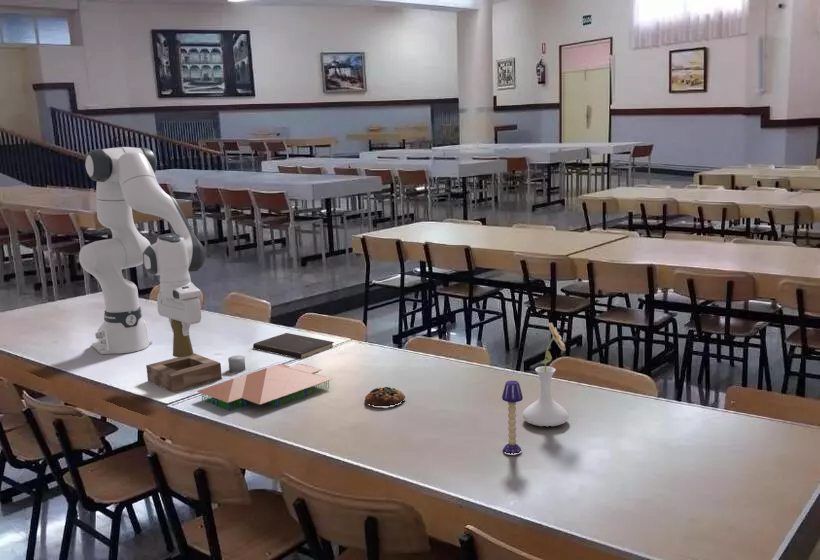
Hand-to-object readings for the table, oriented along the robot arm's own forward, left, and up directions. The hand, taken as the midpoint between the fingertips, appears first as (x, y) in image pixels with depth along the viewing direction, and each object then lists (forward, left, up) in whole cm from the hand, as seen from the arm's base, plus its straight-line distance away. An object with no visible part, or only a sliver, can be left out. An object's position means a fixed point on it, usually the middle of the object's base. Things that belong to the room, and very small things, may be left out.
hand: (180, 333), depth 235 cm
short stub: (+4, +16, -15) cm, 22 cm away
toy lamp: (+107, +24, -15) cm, 110 cm away
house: (+30, +10, -15) cm, 35 cm away
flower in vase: (+102, +44, -15) cm, 112 cm away
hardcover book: (-2, +42, -15) cm, 45 cm away
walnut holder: (0, 0, -15) cm, 15 cm away
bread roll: (+60, +27, -15) cm, 68 cm away
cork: (0, 0, -7) cm, 7 cm away
